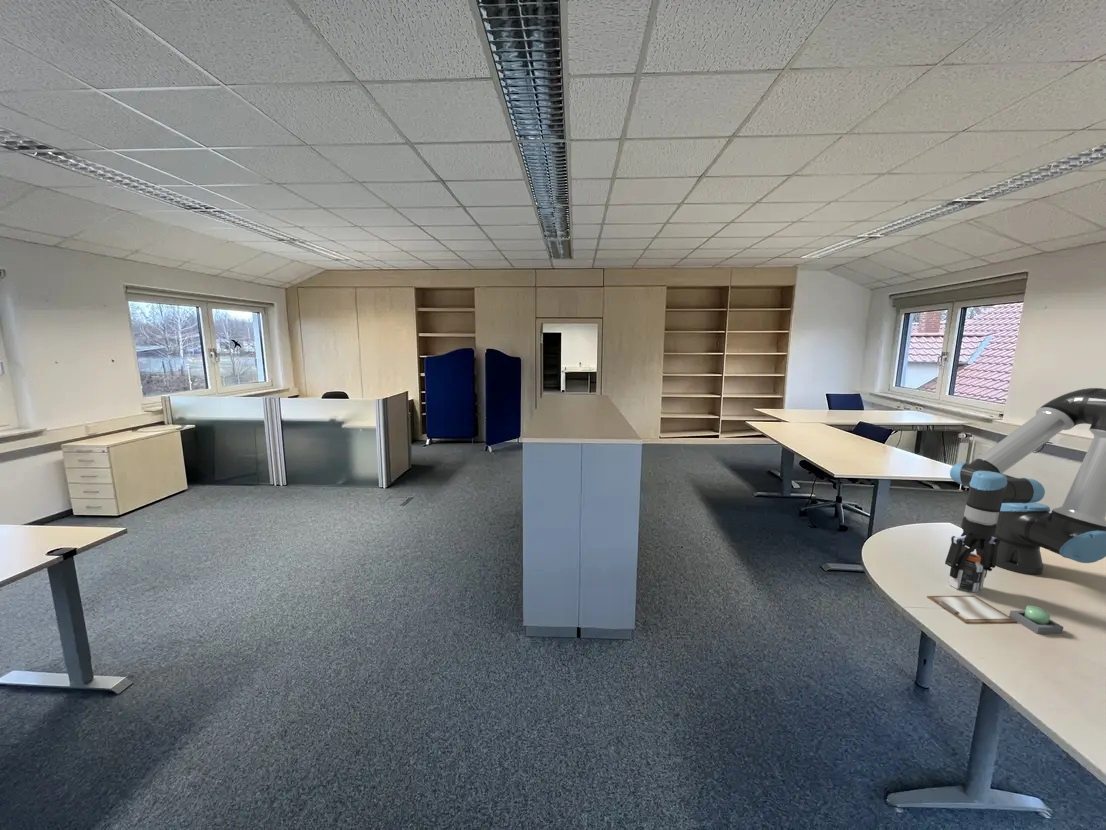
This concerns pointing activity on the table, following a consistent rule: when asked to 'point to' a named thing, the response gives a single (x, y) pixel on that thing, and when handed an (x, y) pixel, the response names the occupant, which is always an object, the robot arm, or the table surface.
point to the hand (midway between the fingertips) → (965, 586)
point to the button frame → (1039, 629)
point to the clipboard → (971, 609)
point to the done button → (1037, 615)
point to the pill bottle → (971, 573)
